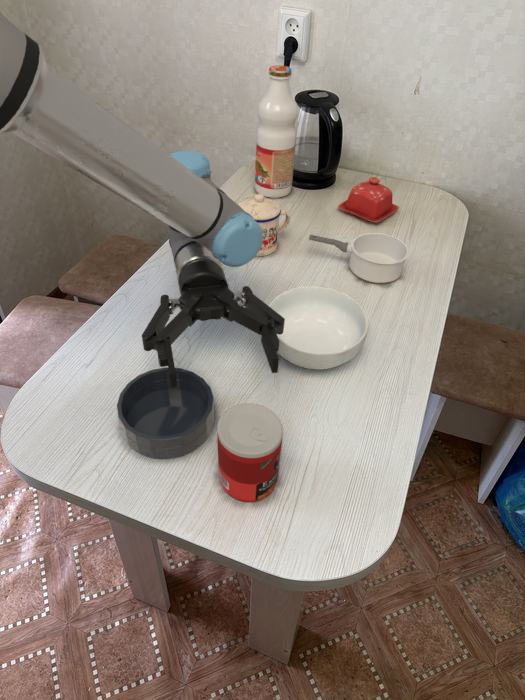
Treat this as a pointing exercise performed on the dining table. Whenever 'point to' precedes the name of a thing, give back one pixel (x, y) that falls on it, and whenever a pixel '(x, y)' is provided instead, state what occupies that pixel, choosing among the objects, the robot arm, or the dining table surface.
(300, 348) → the cereal bowl
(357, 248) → the saucepan
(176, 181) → the robot arm
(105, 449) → the dining table surface
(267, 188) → the fruit juice
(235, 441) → the canned food
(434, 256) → the dining table surface
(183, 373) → the dark grey round dish
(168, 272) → the dining table surface
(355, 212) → the butter dish
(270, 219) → the teacup with lid
